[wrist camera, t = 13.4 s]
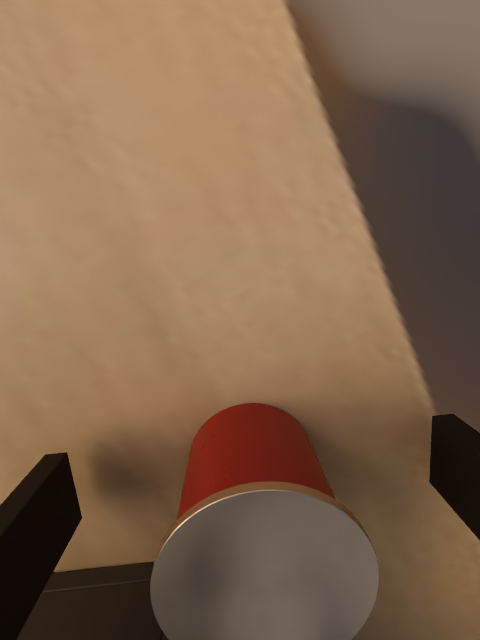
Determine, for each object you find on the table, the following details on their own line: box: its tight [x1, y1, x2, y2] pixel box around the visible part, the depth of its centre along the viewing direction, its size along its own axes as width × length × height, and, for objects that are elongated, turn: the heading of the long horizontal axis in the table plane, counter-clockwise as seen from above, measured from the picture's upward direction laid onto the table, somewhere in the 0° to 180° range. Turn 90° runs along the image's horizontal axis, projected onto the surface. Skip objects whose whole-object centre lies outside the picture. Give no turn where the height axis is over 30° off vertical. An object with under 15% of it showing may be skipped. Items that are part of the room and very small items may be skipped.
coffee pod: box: [150, 404, 379, 640], centre depth 10 cm, size 6×6×5 cm
